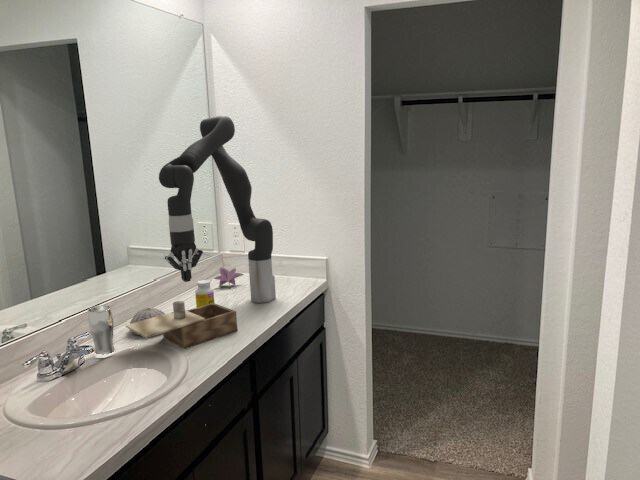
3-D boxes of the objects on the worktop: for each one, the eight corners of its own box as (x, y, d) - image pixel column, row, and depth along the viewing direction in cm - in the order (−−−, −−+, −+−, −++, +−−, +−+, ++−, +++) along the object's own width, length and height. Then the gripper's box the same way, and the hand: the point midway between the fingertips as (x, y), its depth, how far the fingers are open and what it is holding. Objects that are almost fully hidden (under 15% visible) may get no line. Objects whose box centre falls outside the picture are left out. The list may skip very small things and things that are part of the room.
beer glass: (93, 361, 153) (87, 313, 150) (92, 353, 159) (86, 307, 156) (118, 356, 156) (112, 309, 153) (115, 348, 162) (110, 303, 159)
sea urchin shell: (153, 340, 168) (150, 317, 167) (120, 336, 173) (118, 313, 172) (177, 326, 181) (175, 304, 179) (146, 322, 185) (144, 301, 184)
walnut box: (214, 321, 183) (213, 302, 182) (237, 330, 173) (236, 311, 172) (163, 337, 170) (161, 317, 168) (184, 348, 160) (182, 327, 158)
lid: (183, 310, 174) (181, 295, 173) (205, 319, 164) (203, 303, 163) (125, 326, 160) (123, 310, 159) (146, 338, 150) (144, 320, 149)
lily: (248, 287, 229) (243, 267, 231) (237, 284, 217) (232, 263, 220) (224, 295, 231) (219, 275, 233) (212, 292, 220) (208, 271, 222)
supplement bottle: (211, 318, 187) (208, 284, 185) (194, 317, 188) (191, 284, 186) (218, 312, 194) (215, 279, 191) (201, 311, 195) (199, 279, 192)
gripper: (193, 224, 169) (198, 274, 172) (156, 230, 160) (162, 283, 163) (206, 226, 164) (210, 278, 167) (168, 233, 155) (174, 288, 158)
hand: (186, 281), depth 165 cm, fingers closed
